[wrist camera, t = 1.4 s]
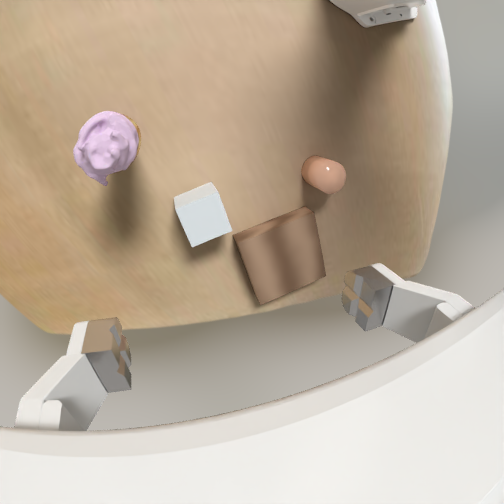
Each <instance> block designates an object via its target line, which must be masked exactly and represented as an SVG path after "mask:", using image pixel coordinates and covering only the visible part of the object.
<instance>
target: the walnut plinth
mask: <svg viewBox="0 0 504 504" xmlns="http://www.w3.org/2000/svg"><path fill="white" fill-rule="evenodd" d="M233 237H234V239H235V242H236V245H237V247H238V250H239V253H240V255H241V258H242V261H243V263H244V266H245V269H246V271H247V274H248V277H249V279H250V282H251V285H252V287H253V290H254V293H255V295H256V297H257V299H258V301H259V303H260V305H262V304H265V303H267V302H269V301H272V300H274V299H276V298H279V297H281V296H283V295H285V294H288V293H290V292H292V291H294V290H296V289H299V288H301V287H303V286H305V285H307V284H310V283H312V282H314V281H316V280H318V279H320V278H323V277H325V276H326V273H325V267H324V262H323V256H322V251H321V245H320V240H319V235H318V230H317V225H316V220H315V215H314V212H312V211H311V210H310V209H308V208H307V207H302V208H300V209H297V210H294V211H292V212H289V213H287V214H284V215H282V216H279V217H277V218H274V219H272V220H269V221H267V222H264V223H262V224H259V225H257V226H254V227H252V228H249V229H247V230H244V231H242V232H240V233H237V234H235V235H233Z"/></svg>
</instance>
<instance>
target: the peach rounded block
mask: <svg viewBox="0 0 504 504" xmlns="http://www.w3.org/2000/svg"><path fill="white" fill-rule="evenodd" d="M302 176H303V179H304V180H305V181H306V182H307V183H308V184H310V185H312V186H314V187H316V188H318V189H319V190H321V191H323V192H325V193H327V194H333V193H336V192H338V191H339V190H340V189H341V188H342V187H343V185H344V183H345V180H346V172H345V169H344V167H343V166H342V165H341V164H340V163H338V162H335V161H332V160H329V159H326V158H323V157H320V156H312V157H310V158H308V159H307V160H306V161H305V162H304V164H303V166H302Z"/></svg>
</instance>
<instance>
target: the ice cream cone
mask: <svg viewBox="0 0 504 504" xmlns="http://www.w3.org/2000/svg"><path fill="white" fill-rule="evenodd" d="M140 144H141V133H140V130H139V128H138V126H137V124H136V123H135V122H134V121H133V120H132V119H131V118H129V117H128V116H125V115H123V114H119V113H117V112H112V111H104V112H101V113H98V114H96V115H94V116H93V117H91V118H90V119H89V120H88V121H87V122H86V123H85V125H84V126H83V127H82V129H81V130H80V132H79V139H78V142H77V144H76V145H75V147H74V150H73V152H74V158H75V162H76V163H77V164H78V166H79V167H81V168H82V169H83V170H84V172H85V173H86V174H87V175H88V176H89V177H91V178H93V179H95V180H97V181H98V182H99V183H101V184H103V185H104V186H107V184H108V182H107V181H106V176H107V175H108V174H112V173H117V172H120V171H123V170H126V169H127V168H128V167H129V166H130V165H131V164H132V163H133V161H134V160H135V158H136V156H137V154H138V152H139V149H140Z"/></svg>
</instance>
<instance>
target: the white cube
mask: <svg viewBox="0 0 504 504" xmlns="http://www.w3.org/2000/svg"><path fill="white" fill-rule="evenodd" d="M174 203H175V210H176V212H177V215H178V217H179V219H180V222H181V224H182V226H183V228H184V231H185V233H186V235H187V237H188V239H189V242H190V244H191V246H192V247H195V246H197V245H199V244H202V243H204V242H207V241H209V240H211V239H214V238H216V237H219V236H221V235H223V234H226V233H228V232H231V231H232V228H231V226H230V223H229V220H228V217H227V215H226V212H225V209H224V206H223V204H222V201H221V198H220V196H219V193H218V191H217V189H216V188H215V186H214V185H213V184H212V182H210V183H207V184H205V185H202V186H200V187H197V188H195V189H192V190H190V191H187V192H185V193H183V194H180V195H178V196H176V197H174Z"/></svg>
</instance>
